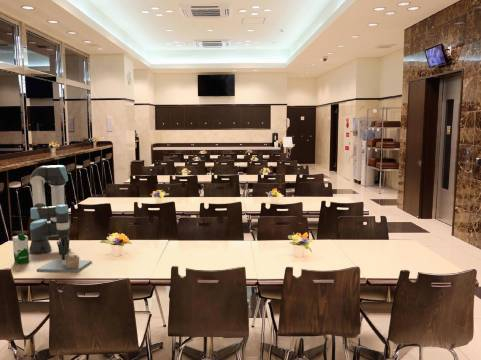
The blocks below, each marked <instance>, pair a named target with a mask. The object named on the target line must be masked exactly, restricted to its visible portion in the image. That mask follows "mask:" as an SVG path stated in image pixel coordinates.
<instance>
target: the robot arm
mask: <svg viewBox="0 0 481 360" xmlns="http://www.w3.org/2000/svg"><path fill="white" fill-rule="evenodd" d="M68 181H69V176H68V173H67V167H66V166H65V165H63V164H62V165H61V164H57V165H41V166H38V167H37V168H36V169H34V170H33V171H32V173H31V175H30V177H29V183H30V185H31V190H32V205H33V207H30V219H32V220H34V221H32V222H30V226H29V229H30V245H29V247H28V249H29V255H44V254H48V253H50V252H51V251H52V249H53V248H52V246H51V244H50V241H49V237H50V238H52V237H58V241H56V245H57V249H58V253H59V256H61V260H62V265H66V260H67V254H68V253H67V252H69V248H70V240H71V237H70V236H69V235H70V226H71V225H70V222H71V221H70V219H69V217H70V216H69V205H68V204H65V203H66V202H65V185H66V184H67V182H68ZM45 183H48V186H50V190H51V192H50V193H51V205H50V206H47V203H46V195H45V194H46V193H45ZM48 219H49V220H48Z"/></svg>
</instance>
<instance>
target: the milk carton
mask: <svg viewBox="0 0 481 360" xmlns="http://www.w3.org/2000/svg"><path fill="white" fill-rule="evenodd" d="M12 246H13V259H14V263H15V264H16V265H23V264H27V263H28V264H29V263H30V253H29V236H27V235H25V233H18V234H17V235H15V236H12Z"/></svg>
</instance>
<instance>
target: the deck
mask: <svg viewBox="0 0 481 360" xmlns="http://www.w3.org/2000/svg"><path fill="white" fill-rule="evenodd" d="M69 251H72V249H71V248H70V247H69ZM70 257H74V255H70ZM92 263H93V262H92V260H87V259H86V260H85V259H83V260H81V259H79V268H69V269H68V268H67V267H66V265H62V258H61V259H60V258H59V259H56V258H55V259H51V260H50V261H48V262H47V263H45V264H43V265H41V266H39V267H37V268H36V272H46V273H47V272H48V273H49V272H50V273H53V272H54V273H69V272H70V273H72V274H73V273H74V274H77V273H78V272H80V271H82V270H83V269H85V268H86V267H88V266H89V265H91V264H92Z"/></svg>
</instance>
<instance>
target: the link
mask: <svg viewBox="0 0 481 360" xmlns="http://www.w3.org/2000/svg"><path fill="white" fill-rule="evenodd" d="M67 253H68V254H67V260H66V267H67V268H68V269H69V268H79V260H80V256H79V255H78V254H75V253H74V252H73V251H72V250H71V251H69V252H67ZM70 255H74V257H70Z"/></svg>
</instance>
